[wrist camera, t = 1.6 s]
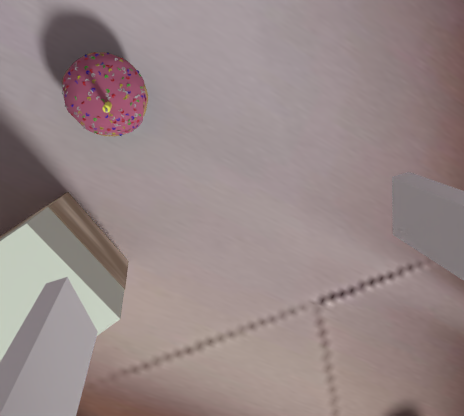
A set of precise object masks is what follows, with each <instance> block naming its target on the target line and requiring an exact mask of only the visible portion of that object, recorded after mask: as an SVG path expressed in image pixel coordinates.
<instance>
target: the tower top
mask: <svg viewBox="0 0 464 416" xmlns="http://www.w3.org/2000/svg"><path fill="white" fill-rule="evenodd" d="M65 277H68V279H69V281H70V282H71V284H72V286H73V288H74V290H75V291H76V293H77V295H78V297H79V299H80V301H81V302H82V304H83V306H84V308H85V310H86V311H87V313H88V315H89V317H90V319H91V321H92V322H93V324H94V326H95V328H96V330H97V331H98V333H97V335H99V334H100V333H102V332H103V331H104V330H106V329H107V328H109V327H110V326H111V325H113V324H114V323H115V322H117V321H118V320H120V317H121V310H122V302H123V295H124V288H123V287H122V286H121V285H120V284H119V283H118V282H117V281H116V279H115V278H114V277H113V276H112V275H111V274H110V273H109V272H108V271H107V270H106V269H105V268H104V266H103V265H102V264H101V263H100V262H99V261H98V260H97V259H96V258H95V257H94V256H93V255H92V254H91V252H90V251H89V250H88V249H87V248H86V247H85V246H84V245H83V244H82V243H81V242H80V241H79V239H78V238H77V237H76V236H75V235H74V234H73V233H72V232H71V231H70V230H69V229H68V228H67V227H66V225H65V224H64V223H63V222H62V221H61V220H60V219H59V218H58V217H57V216H56V215H55V214H54V212H53V211H52V210H51V209H50V208H49V207H47V208H45V209H44V210H42V211H41V212H39V213H38V214H36V215H35V216H33V217H32V218H30V219H29V220H27V221H26V222H24V223H23V224H21V225H20V226H18V227H17V228H15V229H14V230H12V231H11V232H9V233H8V234H6V235H5V236H3V237H2V238H0V362H1V360H2V358H3V357H4V355H5V353H6V351H7V350H8V348H9V346H10V344H11V343H12V341H13V339H14V338H15V336H16V334H17V332H18V331H19V329H20V327H21V326H22V324H23V322H24V320H25V319H26V317H27V315H28V314H29V312H30V310H31V308H32V307H33V305H34V303H35V301H36V300H37V298H38V296H39V295H40V293H41V291H42V289H43V288H44V286H45V284H46V283H49V282H52V281H55V280H59V279H62V278H65Z"/></svg>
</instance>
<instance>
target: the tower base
mask: <svg viewBox="0 0 464 416" xmlns="http://www.w3.org/2000/svg"><path fill="white" fill-rule="evenodd" d="M47 207H49V208H50V209H51V210H52V211H53V212H54V214H55V215H56V216H57V217H58V218H59V219H60V220H61V221H62V222H63V223H64V224H65V225H66V227H67V228H68V229H69V230H70V231H71V232H72V233H73V234H74V235H75V236H76V237H77V238H78V239H79V241H80V242H81V243H82V244H83V245H84V246H85V247H86V248H87V249H88V250H89V251H90V252H91V254H92V255H93V256H94V257H95V258H96V259H97V260H98V261H99V262H100V263H101V264H102V265H103V266H104V268H105V269H106V270H107V271H108V272H109V273H110V274H111V275H112V276H113V277H114V278H115V279H116V281H117V282H118V283H119V284H120V285H121V286H122V287H123V288H124V289H125V285H126V277H127V270H128V260H127V259H126V258H125V257H124V256H123V255H122V254H121V252H120V251H119V250H118V249H117V248H116V247H115V246H114V244H113V243H112V242H111V241H110V240H109V239H108V237H107V236H106V235H105V234H104V233H103V232H102V231H101V229H100V228H99V227H98V226H97V225H96V224H95V223H94V221H93V220H92V219H91V218H90V217H89V216H88V215H87V213H86V212H85V211H84V210H83V209H82V208H81V207H80V205H79V204H78V203H77V202H76V201H75V200H74V198H73V197H72V196H71V195H70V194H69V193H68V192H67V193H65V194H64V195H62V196H61V197H59V198H58V199H56V200H55V201H53V202H52V203H50V204H49V205H47V206H46V207H44V208H43V209H41V210H40V211H38V212H37V213H35V214H34V215H32V216H31V217H29V218H28V219H26V220H24V221H23V222H21V223H20V224H18V225H17V226H15V227H14V228H12V229H11V230H9V231H8V232H6V233H5V234H3V235H2V236H0V238H2V237H3V236H5V235H6V234H8V233H9V232H11V231H12V230H14V229H15V228H17V227H18V226H20V225H21V224H23V223H24V222H26V221H27V220H29V219H30V218H32V217H33V216H35V215H36V214H38V213H39V212H41V211H42V210H44V209H45V208H47Z"/></svg>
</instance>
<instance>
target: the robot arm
mask: <svg viewBox="0 0 464 416" xmlns="http://www.w3.org/2000/svg"><path fill="white" fill-rule="evenodd" d="M392 210H393V235H394V236H396V237H397V238H399V239H400V240H402V241H403V242H405V243H407V244H408V245H410V246H411V247H413V248H414V249H416V250H417V251H419V252H420V253H422V254H424V255H425V256H427V257H428V258H430V259H431V260H433V261H434V262H436V263H437V264H439V265H440V266H442V267H444V268H445V269H447V270H448V271H450V272H451V273H453V274H454V275H456V276H457V277H459V278H461V279H462V280H464V191H462V190H459V189H456V188H453V187H451V186H448V185H445V184H442V183H439V182H436V181H433V180H431V179H428V178H425V177H422V176H419V175H416V174H414V173H411V172H407V173H403V174H400V175H397V176H394V177H392ZM97 333H98V331H97V330H96V328H95V326H94V324H93V322H92V321H91V319H90V317H89V315H88V313H87V311H86V310H85V308H84V306H83V304H82V302H81V301H80V299H79V297H78V295H77V293H76V291H75V290H74V288H73V286H72V284H71V282H70V281H69V279H68V277H65V278H62V279H59V280H55V281H52V282H49V283H46V284H45V286H44V288H43V289H42V291H41V293H40V295H39V296H38V298H37V300H36V301H35V303H34V305H33V307H32V308H31V310H30V312H29V314H28V315H27V317H26V319H25V320H24V322H23V324H22V326H21V327H20V329H19V331H18V332H17V334H16V336H15V338H14V339H13V341H12V343H11V344H10V346H9V348H8V350H7V351H6V353H5V355H4V357H3V358H2V360H1V362H0V416H76V414H77V410H78V406H79V402H80V398H81V394H82V391H83V387H84V383H85V379H86V375H87V371H88V367H89V364H90V360H91V356H92V352H93V348H94V344H95V340H96V336H97Z"/></svg>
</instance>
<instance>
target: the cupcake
mask: <svg viewBox="0 0 464 416" xmlns="http://www.w3.org/2000/svg"><path fill="white" fill-rule="evenodd" d="M62 84H63V86H62V87H63V92H62V94H63V95H64V100H65V105H66V106H65V107H66V108H67V110H68V112H69V113H70V114H71V115H72V116H73V117H74V118H75V119H76V120H77V121H78V122H79V123H80V124H81V125H82V126H83V127H84V128H85V129H87V130H89V131H91V132H94V133H96V134H99V135H103V136H119V135H120V136H121V135H124V134H126V133H129V132H132V131H134V130H135V129H136V128H137V127H138V126H139V125H140V124H141V123H142V121H143V116H144V114H145V112H146V108H147V102H148V93H147V90H146V87H145V85H144V80H143V78H142V77H141V75H140V74H139V71H138V70H136V69H135V68H134V67H133V66H132V65H131V64H130V63H129V62H128V61H126V60H124V59H123V58H120V57H118V56H115V55H113V54H110V53H105V52H94V53H89V54H87V55H85V56H83V57H81V58H80V59H78V60H76V61H75V62H74V63H73V64H72V65H71V67H70V68H69V69H68V70H67V71H66V73H65V75H64V77H63V81H62Z"/></svg>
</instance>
